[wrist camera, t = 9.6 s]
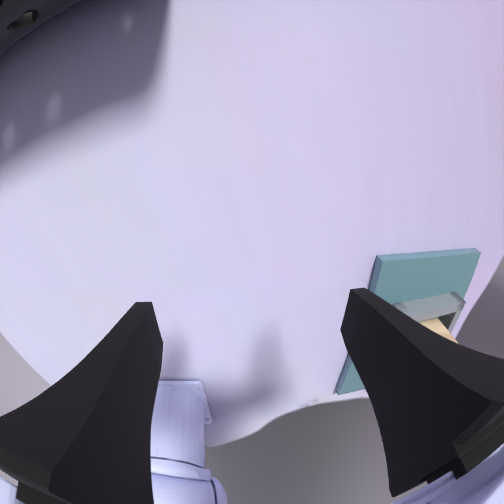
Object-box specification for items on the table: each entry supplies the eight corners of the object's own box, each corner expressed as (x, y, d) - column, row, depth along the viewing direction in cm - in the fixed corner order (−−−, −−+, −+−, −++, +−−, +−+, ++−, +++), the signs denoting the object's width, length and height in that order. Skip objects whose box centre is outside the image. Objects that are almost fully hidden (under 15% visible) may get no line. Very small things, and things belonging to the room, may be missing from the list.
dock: (423, 364, 30) (433, 379, 27) (335, 388, 28) (343, 408, 26) (475, 248, 22) (492, 261, 19) (376, 255, 20) (395, 274, 18)
